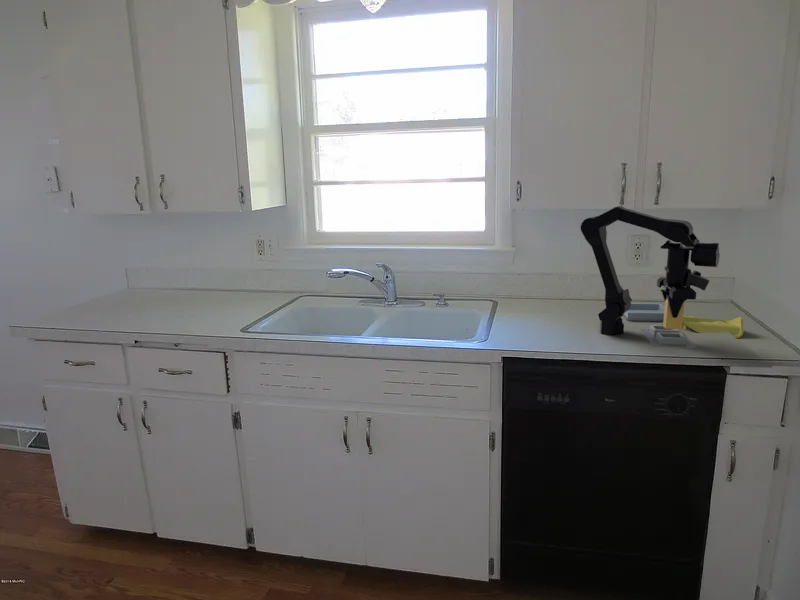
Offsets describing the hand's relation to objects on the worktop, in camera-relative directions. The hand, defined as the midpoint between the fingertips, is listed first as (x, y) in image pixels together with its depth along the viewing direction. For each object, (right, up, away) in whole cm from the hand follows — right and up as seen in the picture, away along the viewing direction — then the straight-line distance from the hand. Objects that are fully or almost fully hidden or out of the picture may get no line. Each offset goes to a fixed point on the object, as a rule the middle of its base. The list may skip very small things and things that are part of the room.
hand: (673, 316), depth 168 cm
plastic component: (+18, -6, +16) cm, 24 cm away
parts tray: (+7, -1, +36) cm, 36 cm away
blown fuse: (0, -3, +1) cm, 4 cm away
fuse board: (+1, -8, +6) cm, 10 cm away
